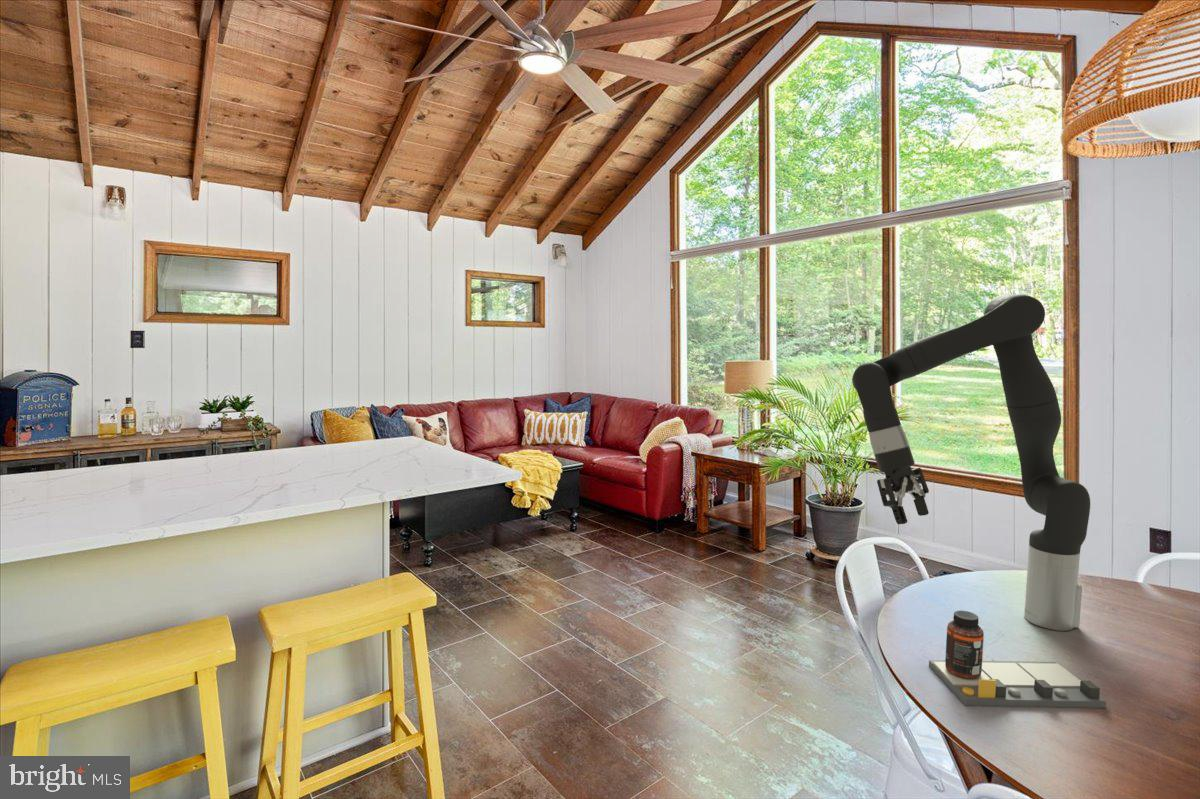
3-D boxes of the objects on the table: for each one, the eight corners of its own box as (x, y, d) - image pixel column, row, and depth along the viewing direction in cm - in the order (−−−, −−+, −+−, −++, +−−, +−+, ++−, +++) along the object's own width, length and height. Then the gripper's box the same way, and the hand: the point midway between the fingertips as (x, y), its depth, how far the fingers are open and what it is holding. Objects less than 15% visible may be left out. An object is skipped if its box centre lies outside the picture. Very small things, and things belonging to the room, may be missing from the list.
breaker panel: (1054, 667, 120) (1055, 646, 119) (1105, 707, 107) (1107, 684, 106) (928, 665, 121) (929, 644, 120) (965, 705, 108) (966, 681, 107)
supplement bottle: (986, 682, 112) (990, 623, 111) (951, 678, 113) (954, 620, 112) (974, 665, 118) (977, 609, 117) (940, 662, 119) (943, 606, 118)
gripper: (887, 450, 131) (911, 525, 129) (923, 440, 139) (946, 510, 136) (857, 456, 137) (879, 528, 135) (893, 446, 145) (915, 513, 143)
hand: (913, 519), depth 136 cm, fingers open, 8 cm apart
